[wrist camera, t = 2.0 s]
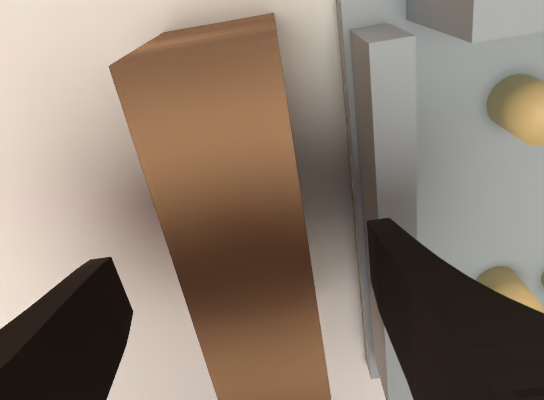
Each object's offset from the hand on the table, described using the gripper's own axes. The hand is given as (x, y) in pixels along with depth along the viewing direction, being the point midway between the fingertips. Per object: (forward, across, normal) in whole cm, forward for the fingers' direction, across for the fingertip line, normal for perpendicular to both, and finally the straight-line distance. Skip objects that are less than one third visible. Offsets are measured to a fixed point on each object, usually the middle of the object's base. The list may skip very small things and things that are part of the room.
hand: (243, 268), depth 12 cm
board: (+6, 0, 0) cm, 6 cm away
